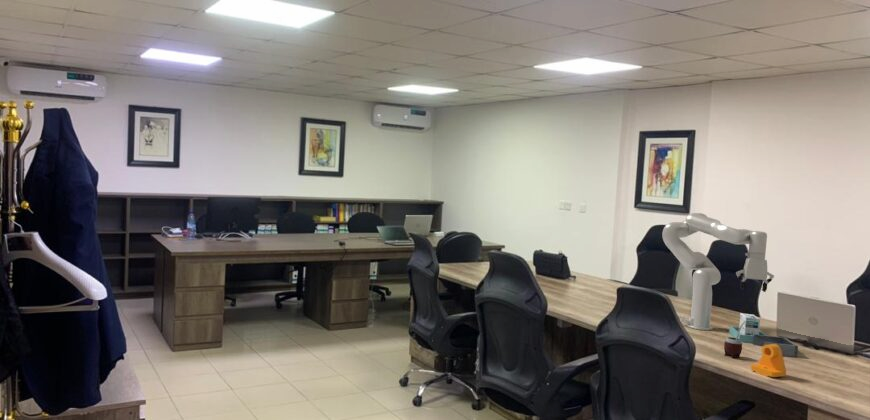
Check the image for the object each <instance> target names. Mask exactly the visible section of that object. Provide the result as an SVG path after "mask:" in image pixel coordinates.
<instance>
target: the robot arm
mask: <svg viewBox="0 0 870 420" xmlns="http://www.w3.org/2000/svg"><path fill="white" fill-rule="evenodd" d="M685 217H686V218H685V220H684V221H681V222H680V221H679V222H678V221H677V222H676V221H675V222H669V223H667V224H666V225H665V226H664V227H663V230H662V233H661V234H662V236H661V237H662V240H663V242H664V244H665V246H666V247H667V249H669V250H670V252H671V254H673V255H674V256H675V258H676V259H677V260H678V261H679V262H680V264H681V265H682V267H684V268H685V270H689V271H694V270H695V271H694V272H693V275H692V277H691V278H692V279H691V280H692V281H691V282H692V296H691V309H690V316H689V317H687V318H685V317H680V322H681V321H682V322H683V323H686V326H687V327H688V328H689V329H695V330H699V331H712V330H713V329H714V328H713V326H712V325H710V323H711V316H712V315H711V314H712V303H713V289H712V288H713V287H712V286H714V285H717V284H718V283H719V282H720V281H721V278H722V277H721V272H720V270H719V268H717V267H716V265H714V263H713V262H712V261H711V260H710V259H709V257H707V256H706V255H705V254H704V253H702V252H699V251H693V250H692V249H691V248H690V246H688V245H687V243H686V242H685V241H684V240H682V239H681V238H686V237H689V236H691V235H693V234H696V233H698V232H701V233H704V234H707V235H710V236H713V238H716V239H718V240H720V241H723V242H727V243H730V244H733V245H748V251H747V252H745V254H744V255H745V257H746V259H745V261H744V266H743V269H740V270H738V271H736V272H735V274H736V276H737V277H736V278H738V280H740V289H741V290H742V291H745V289H746V281H747V280H748V279H749V280H758V281H762V288H761V291H762V292H763V293H766V292H767V290H768V285H769V283H770V282H772V280H773V279H774V278H775V275H774V274H772V273H770V272H769V271H768V260H767V259H766V251H767V242H768V234H767V232H765V231H759V230H749V229H742V228H741V229H740V228H739V229H737V228H734V227H730V226H729V225H728V226H727V225H725V224H722V223H721V221H720V220H719V219H715V218H712V217H709V216H707V214H704V213H701V212H700V213H699V212H693V213H689V214H688V215H687V216H685ZM741 274H742V276H741ZM682 322H681V323H682Z"/></svg>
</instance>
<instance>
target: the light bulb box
mask: <svg viewBox="0 0 870 420" xmlns="http://www.w3.org/2000/svg"><path fill="white" fill-rule="evenodd" d="M739 314H740V315H739V323H738V325H739V326H738V327H740V326H741V325H742V323H743V322H744V324H743V325H742V327H741V330H740V334H743V335H752V336H754V334H757V335H759V330H760V325H761V324H760V323H761V318H760V317H758V316H756V315H755V314H751V313H750V314H749V313H743V312H742V313H741V312H740V313H739Z"/></svg>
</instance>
